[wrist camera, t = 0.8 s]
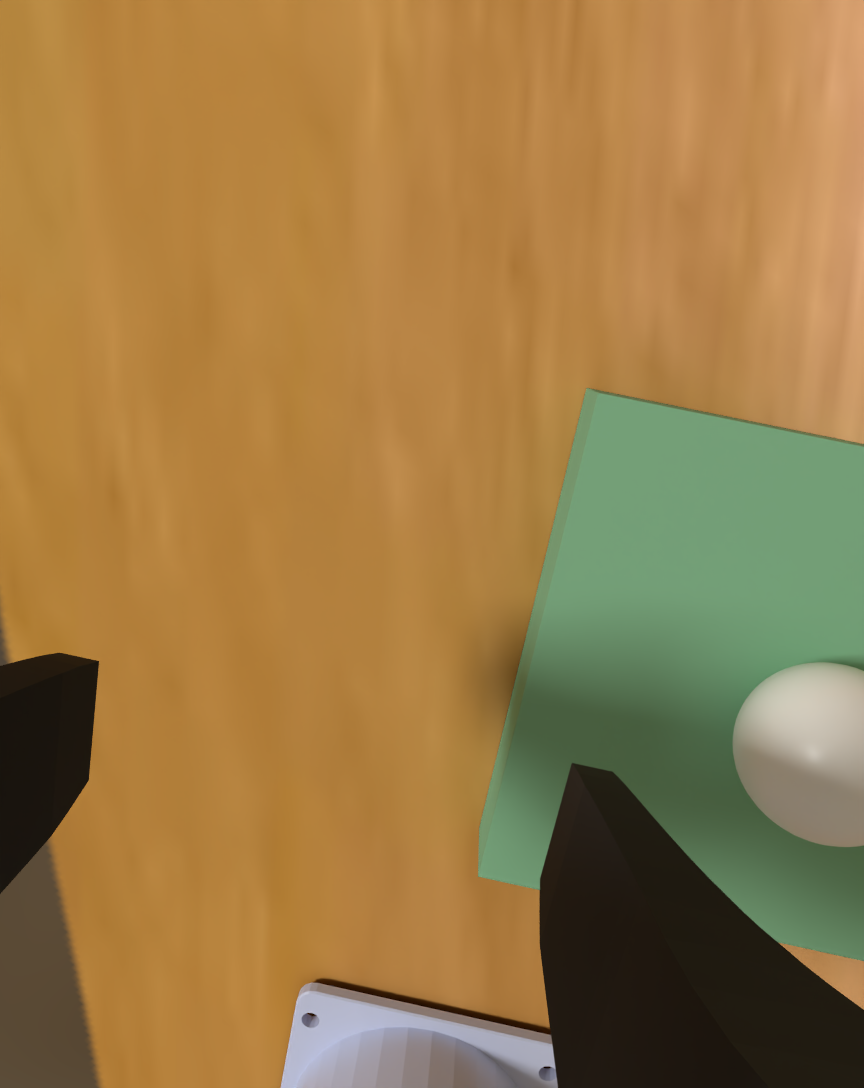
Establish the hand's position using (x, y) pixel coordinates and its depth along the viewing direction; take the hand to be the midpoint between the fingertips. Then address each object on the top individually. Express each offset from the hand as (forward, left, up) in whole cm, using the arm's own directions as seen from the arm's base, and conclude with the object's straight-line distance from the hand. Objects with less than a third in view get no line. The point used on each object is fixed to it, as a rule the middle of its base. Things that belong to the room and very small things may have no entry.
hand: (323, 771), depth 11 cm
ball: (0, -10, -6) cm, 11 cm away
